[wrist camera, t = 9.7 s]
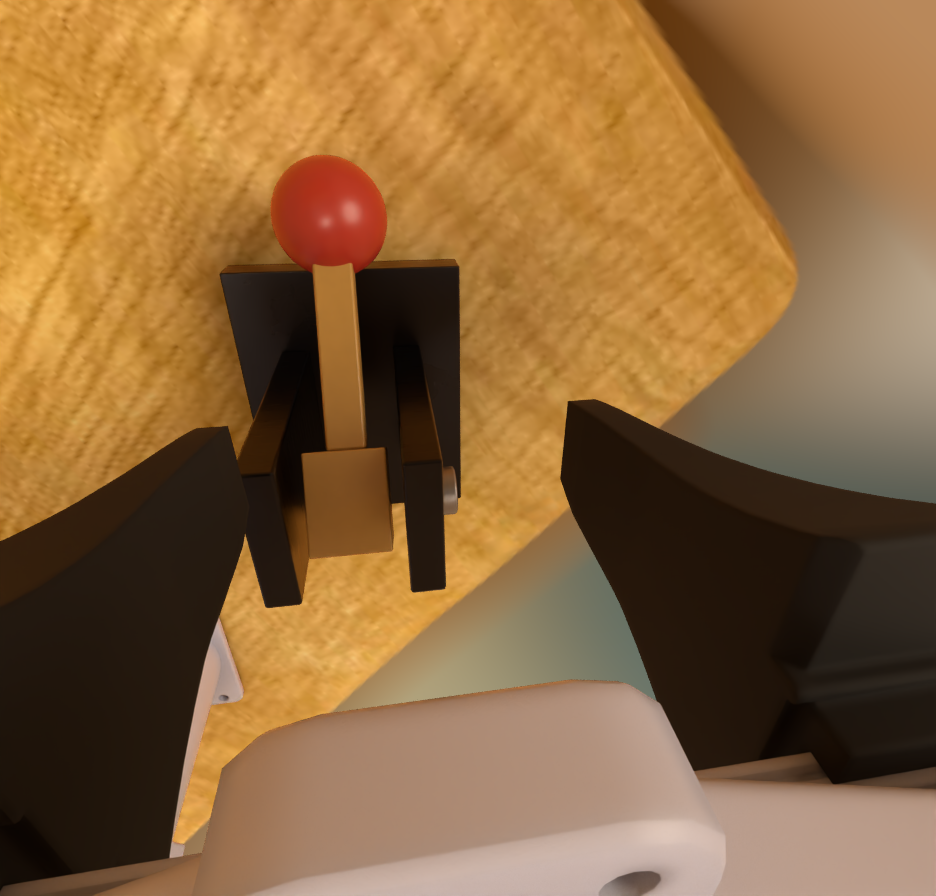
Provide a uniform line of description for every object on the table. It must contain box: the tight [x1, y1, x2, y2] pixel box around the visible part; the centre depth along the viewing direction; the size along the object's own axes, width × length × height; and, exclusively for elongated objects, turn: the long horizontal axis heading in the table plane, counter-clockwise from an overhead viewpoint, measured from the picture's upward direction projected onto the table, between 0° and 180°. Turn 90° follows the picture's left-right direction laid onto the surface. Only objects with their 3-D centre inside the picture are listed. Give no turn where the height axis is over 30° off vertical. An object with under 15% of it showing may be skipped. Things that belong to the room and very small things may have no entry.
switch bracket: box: [220, 259, 461, 608], centre depth 18 cm, size 10×8×9 cm
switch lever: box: [271, 155, 394, 559], centre depth 15 cm, size 11×3×3 cm
